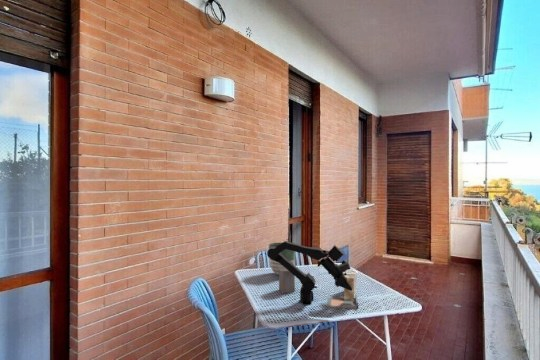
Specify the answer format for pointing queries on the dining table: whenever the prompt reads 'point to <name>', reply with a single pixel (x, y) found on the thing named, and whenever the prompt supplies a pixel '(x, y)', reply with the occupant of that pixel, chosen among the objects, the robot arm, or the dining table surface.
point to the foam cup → (352, 273)
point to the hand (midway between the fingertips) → (351, 288)
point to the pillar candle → (286, 281)
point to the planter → (286, 253)
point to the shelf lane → (343, 303)
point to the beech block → (347, 293)
